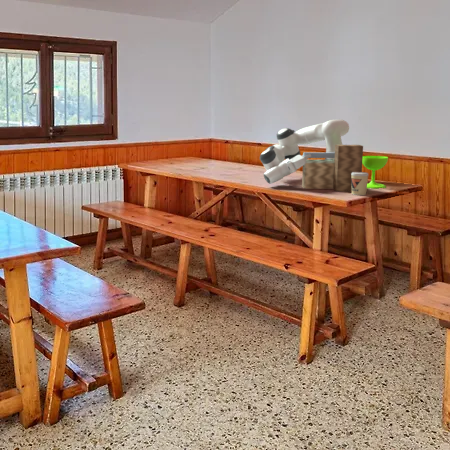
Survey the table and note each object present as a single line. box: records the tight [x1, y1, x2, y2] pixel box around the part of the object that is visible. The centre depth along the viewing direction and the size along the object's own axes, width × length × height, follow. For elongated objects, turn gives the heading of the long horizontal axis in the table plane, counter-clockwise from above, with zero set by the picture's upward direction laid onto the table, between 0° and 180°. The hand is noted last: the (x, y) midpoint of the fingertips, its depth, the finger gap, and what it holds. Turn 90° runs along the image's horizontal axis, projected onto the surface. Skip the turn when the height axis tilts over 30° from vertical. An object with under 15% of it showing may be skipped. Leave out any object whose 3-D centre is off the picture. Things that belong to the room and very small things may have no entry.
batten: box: [302, 151, 335, 159], centre depth 356 cm, size 19×3×3 cm, turn 92°
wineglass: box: [362, 155, 389, 190], centre depth 363 cm, size 16×16×18 cm
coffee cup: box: [351, 171, 369, 196], centre depth 335 cm, size 9×9×12 cm
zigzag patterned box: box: [301, 159, 335, 190], centre depth 359 cm, size 24×10×16 cm, turn 92°
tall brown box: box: [332, 144, 364, 192], centre depth 347 cm, size 14×9×26 cm, turn 92°
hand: (310, 154), depth 356 cm, fingers closed on batten, 3 cm apart
